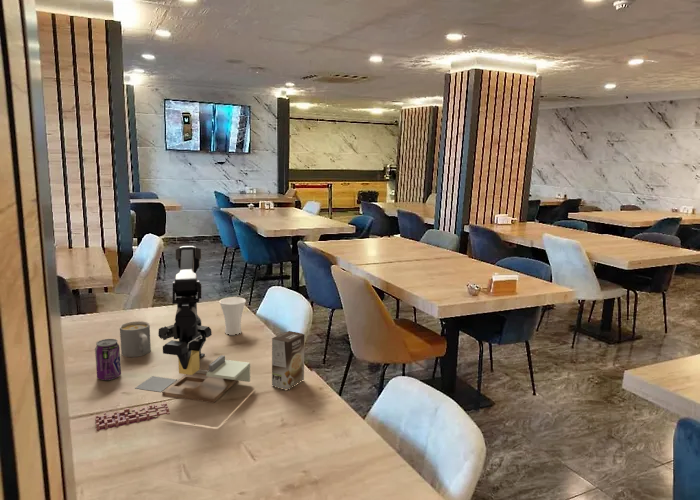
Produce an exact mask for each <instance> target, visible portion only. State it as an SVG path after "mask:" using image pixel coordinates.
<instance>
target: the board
mask: <svg viewBox="0 0 700 500" xmlns="http://www.w3.org/2000/svg"><path fill="white" fill-rule="evenodd" d="M207 372H209V369H208V370H207V369H199V370H198V371H197V372H196V373H194V374H193V375H188V374H183V375H182V376H181V377H180V378H178V379H177V381H175V382H174V383H173V384H171V385H170V386H169V387H167V388H166V389H165V390H163V391H162V392H161V395H162V396H166V397H172V398H173V397H174V398H178V399H184V400H186V399H187V400H193V401H201V402H207V403H215V402H216V401H218V399H220V398H221V397H222V395H224V394H225V393H226V392H227V391H228V390H229V389H231V387H232V386H234V385H235V384H236V383H237V382H239V381H238V380H231V379H223V378H218V377H211V376H206V373H207Z"/></svg>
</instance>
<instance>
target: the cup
mask: <svg viewBox="0 0 700 500" xmlns="http://www.w3.org/2000/svg"><path fill="white" fill-rule="evenodd" d="M246 301H247V300H246V299H245V297H244V298H243V297H239V296H228V297H223V298H222V299H220V300H219V301H218V302H219V304H220V308H221V310H222V313H223V318H224V324H225V328H224V333H226V334H225V335H227V334H229V335H228V336H236V335H235V334H237V335H240V334H241V333H242V316H243V313H244V308H245V306H246V305H245V304H246ZM239 333H240V334H239Z"/></svg>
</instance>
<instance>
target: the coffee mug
mask: <svg viewBox="0 0 700 500" xmlns="http://www.w3.org/2000/svg"><path fill="white" fill-rule="evenodd" d="M150 326H151V325H150V323H149V322H147V321H143V320H141V321H140V320H138V321H136V320H135V321H129V322H126V323H122V324H121V325H120V326H119V337H120V338H119V339H120V355H122V356H123V357H125V358H126V357H127V358H137V357H142V356H145V355H148V354H149V353H150V352H151V351H152V347H151V346H152V345H151V332H150V331H151V330H150V328H151V327H150Z"/></svg>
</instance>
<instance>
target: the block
mask: <svg viewBox="0 0 700 500" xmlns="http://www.w3.org/2000/svg"><path fill="white" fill-rule="evenodd" d="M177 359H178V361H177V362H178V374H180V375H181V374H182V375H185V374H188V375H193V374H194V373H196V372H197V371H198V370H199V369H200V364H201V363H200V359H199V351H193V350H192V352H191V356H190V360H189V363H188V367H187V369H183V367H182V365H181V363H180V360H179V358H178V357H177ZM200 370H201V369H200Z"/></svg>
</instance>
